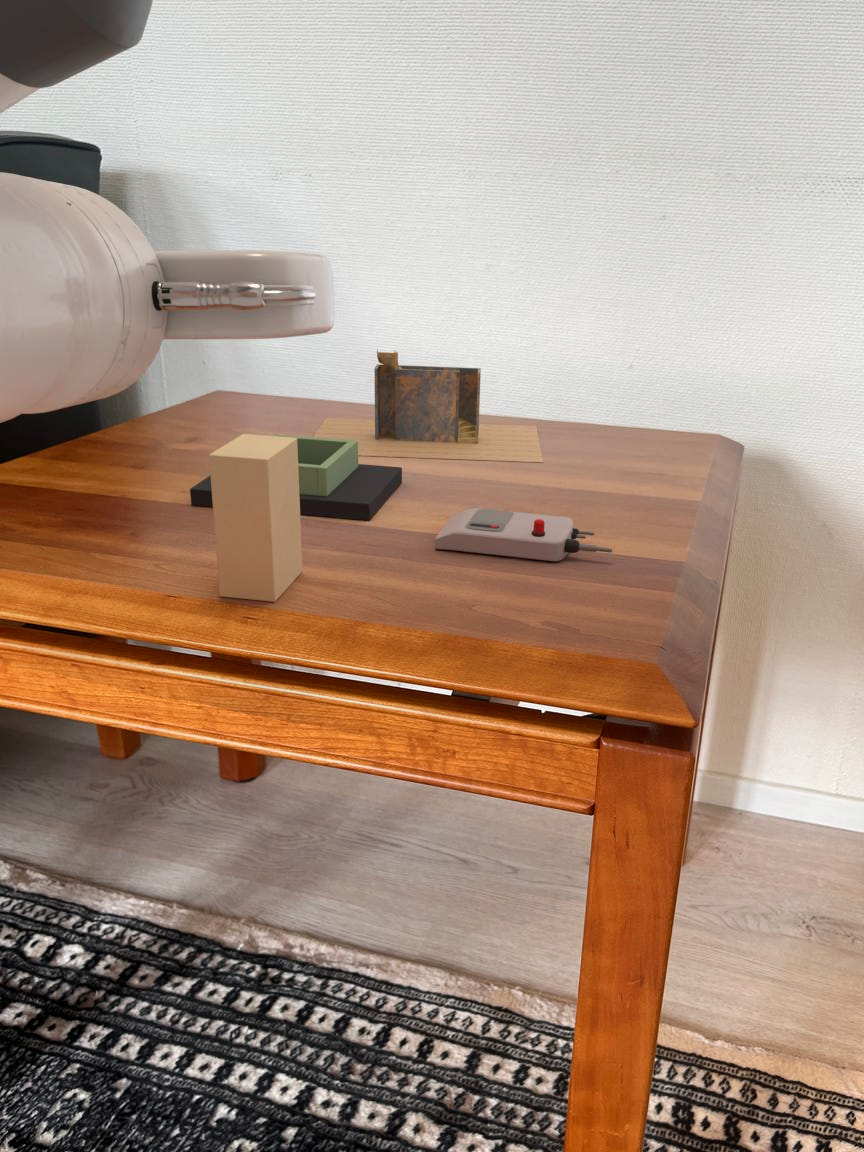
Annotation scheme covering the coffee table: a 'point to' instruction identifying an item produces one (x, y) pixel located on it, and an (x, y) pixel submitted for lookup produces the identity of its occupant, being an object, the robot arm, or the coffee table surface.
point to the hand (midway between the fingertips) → (173, 293)
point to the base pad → (330, 480)
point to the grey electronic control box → (513, 535)
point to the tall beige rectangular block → (256, 516)
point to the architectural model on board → (431, 418)
